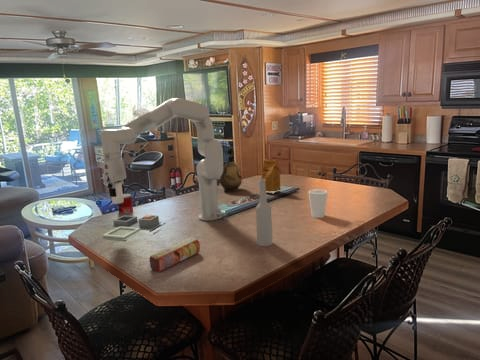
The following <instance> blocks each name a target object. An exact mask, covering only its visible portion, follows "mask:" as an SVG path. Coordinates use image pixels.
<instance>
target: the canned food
mask: <svg viewBox="0 0 480 360" xmlns="http://www.w3.org/2000/svg"><path fill="white" fill-rule="evenodd" d="M132 198H133V197H132V194H131V193H124V194H123V199H124V202H123V203H119V204H117V209H118V213H119V214H129V213H132V212H134V208H133V207H134V206H133V199H132Z"/></svg>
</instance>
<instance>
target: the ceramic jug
mask: <svg viewBox="0 0 480 360" xmlns="http://www.w3.org/2000/svg"><path fill="white" fill-rule="evenodd" d="M234 153H235V151H234V147H233V146H230V147H229V148H228V150H226V154H227V155H228V159H227V162H226V163H225V165H223V173H222V175H221V177H220V178H219V183H220V186H221V187H222V188H223V189H224V192H227V191H232V192H237V191H238V190H239V188H240V186H241V185H242V183H243V175H242V172H241V169H239V166H238V165H237V164H236V162H235V161H234ZM236 190H237V191H236Z"/></svg>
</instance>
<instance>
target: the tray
mask: <svg viewBox="0 0 480 360" xmlns="http://www.w3.org/2000/svg"><path fill="white" fill-rule="evenodd" d="M119 230H131V231H130V232H129V233H127V234H124V235H116V234H114V233H115V232H117V231H119ZM139 231H141V228H133V227H122V226H117V227H115V228H114V229H112V230H110V231H108V232H106V233H104V234H102V237H103V240H104V239H105V241H114V242H115V241H116V242H123V243H124V242H127V241H128V239H126V238H128V237H130V236H132V235H134V234H135V233H137V232H139Z"/></svg>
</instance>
